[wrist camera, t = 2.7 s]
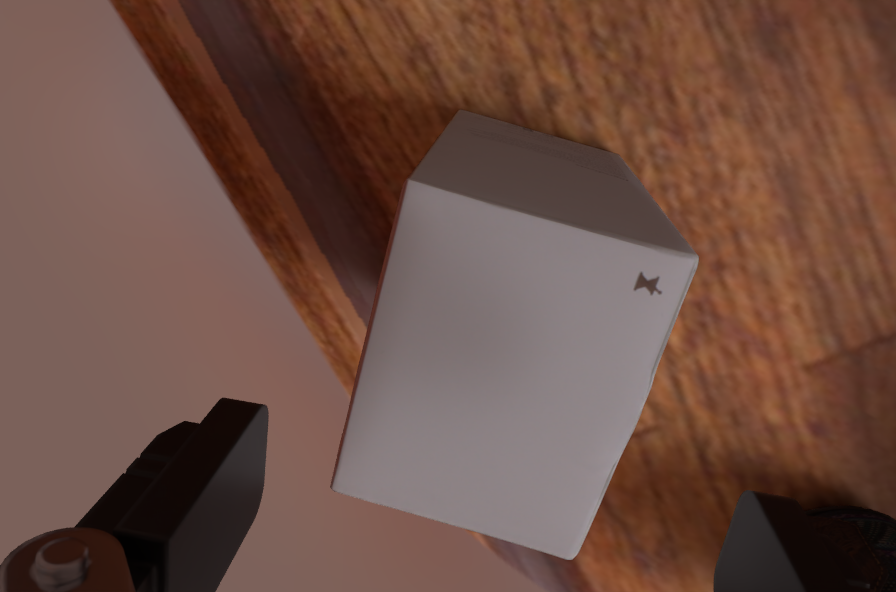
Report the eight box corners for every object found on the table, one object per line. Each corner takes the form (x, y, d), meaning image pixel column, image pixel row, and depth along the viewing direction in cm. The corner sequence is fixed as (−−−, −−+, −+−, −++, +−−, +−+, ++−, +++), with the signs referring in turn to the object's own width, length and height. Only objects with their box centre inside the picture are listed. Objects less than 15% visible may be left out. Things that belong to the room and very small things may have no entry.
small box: (456, 105, 26) (403, 168, 14) (623, 152, 26) (712, 255, 14) (405, 303, 29) (323, 497, 17) (555, 345, 29) (581, 569, 17)
